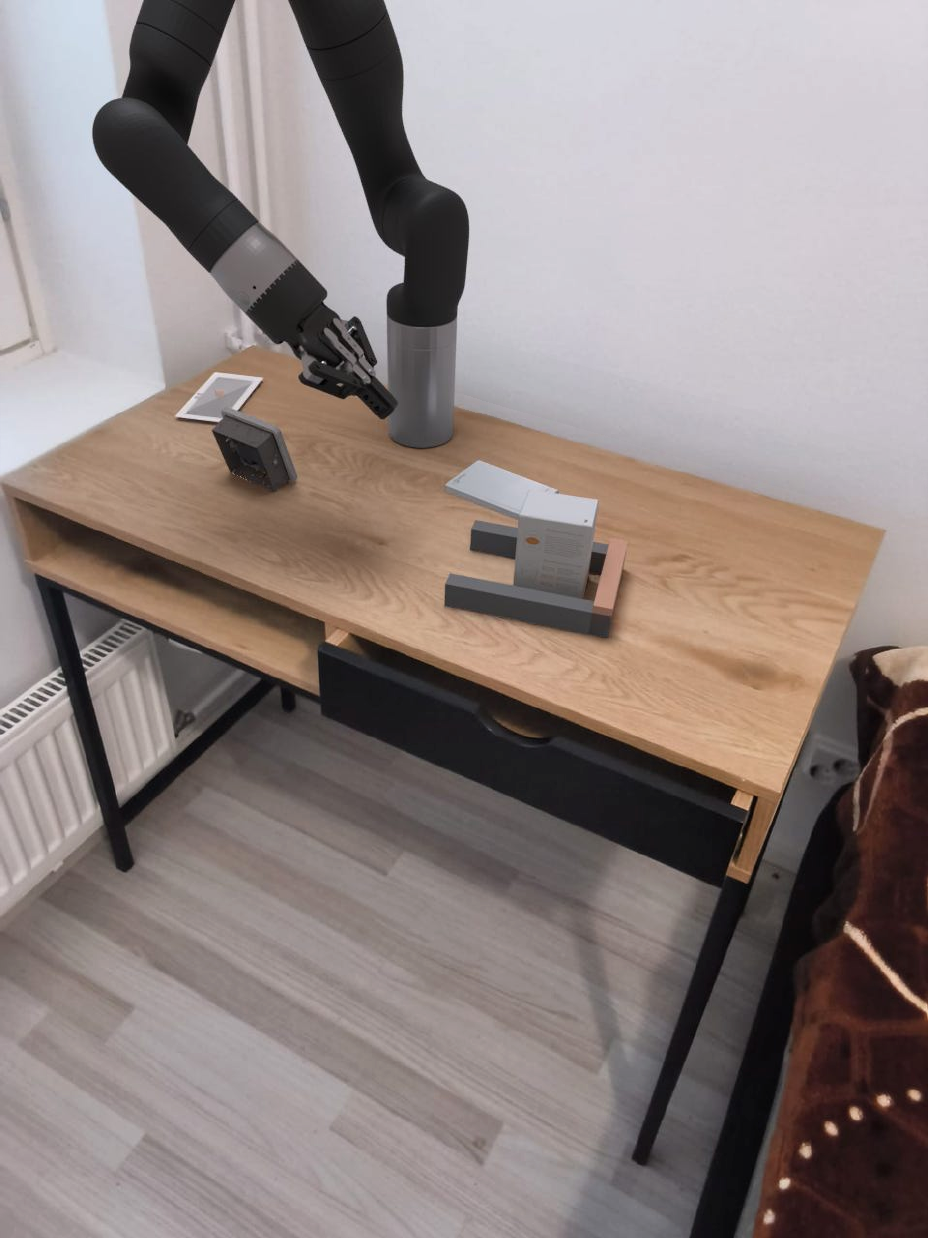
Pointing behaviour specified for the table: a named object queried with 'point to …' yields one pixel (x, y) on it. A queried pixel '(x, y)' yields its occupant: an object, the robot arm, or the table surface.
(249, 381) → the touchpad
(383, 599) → the table surface
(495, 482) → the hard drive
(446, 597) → the dock
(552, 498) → the small box
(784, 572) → the table surface
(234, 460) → the electrical switch
